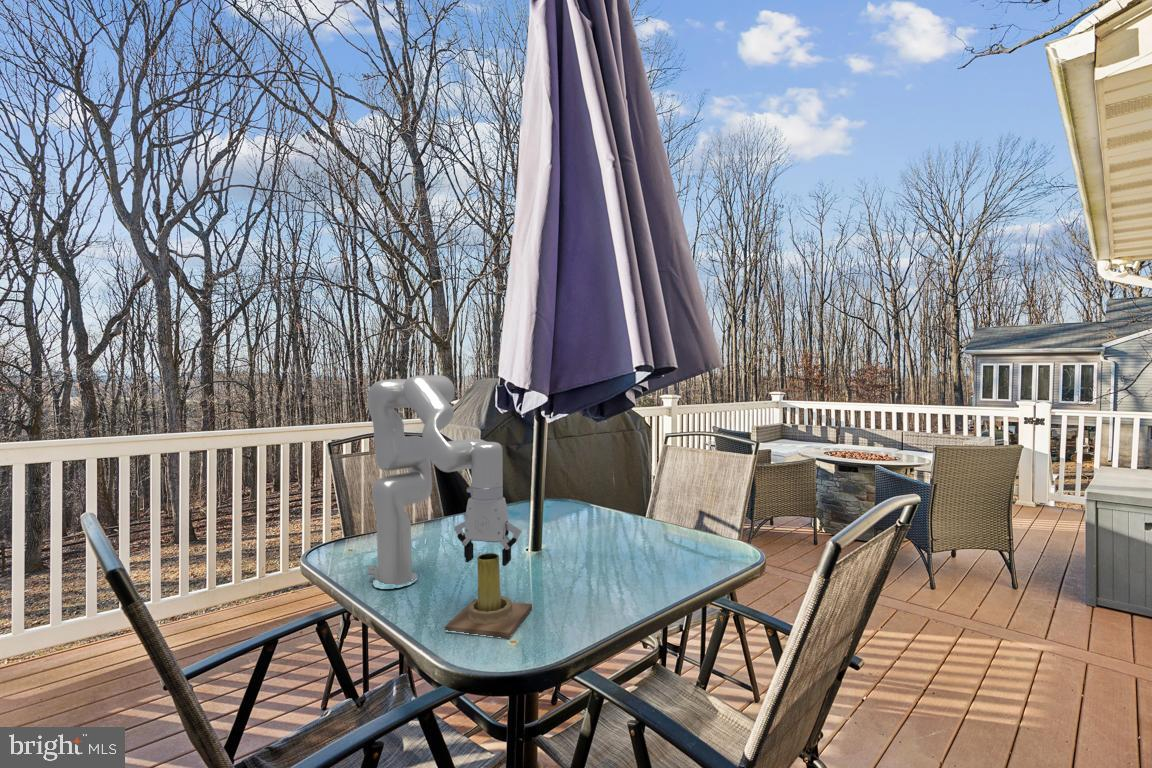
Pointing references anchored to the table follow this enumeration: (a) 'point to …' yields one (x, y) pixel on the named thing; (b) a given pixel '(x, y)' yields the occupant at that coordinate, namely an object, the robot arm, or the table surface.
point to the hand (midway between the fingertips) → (487, 562)
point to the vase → (489, 582)
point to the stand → (490, 619)
